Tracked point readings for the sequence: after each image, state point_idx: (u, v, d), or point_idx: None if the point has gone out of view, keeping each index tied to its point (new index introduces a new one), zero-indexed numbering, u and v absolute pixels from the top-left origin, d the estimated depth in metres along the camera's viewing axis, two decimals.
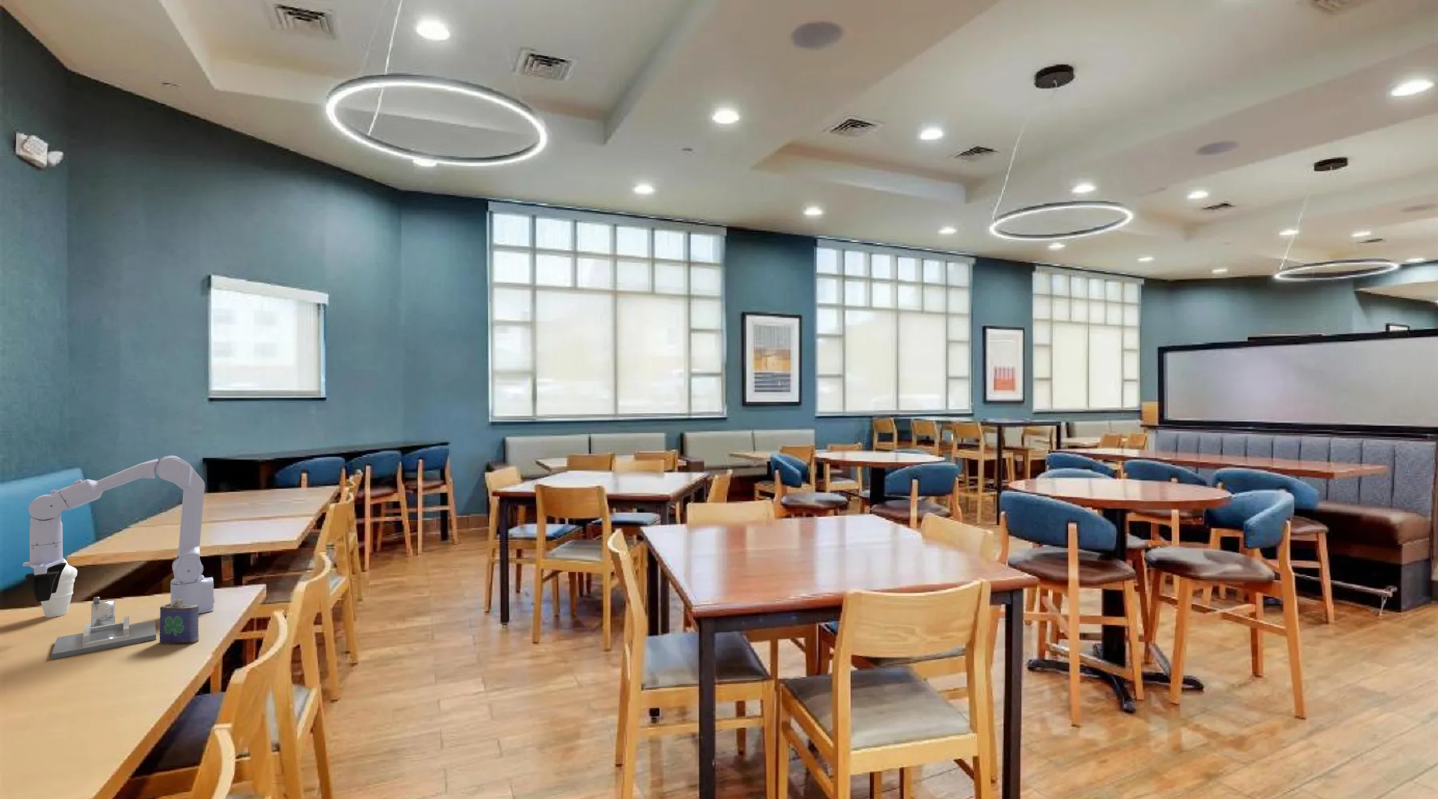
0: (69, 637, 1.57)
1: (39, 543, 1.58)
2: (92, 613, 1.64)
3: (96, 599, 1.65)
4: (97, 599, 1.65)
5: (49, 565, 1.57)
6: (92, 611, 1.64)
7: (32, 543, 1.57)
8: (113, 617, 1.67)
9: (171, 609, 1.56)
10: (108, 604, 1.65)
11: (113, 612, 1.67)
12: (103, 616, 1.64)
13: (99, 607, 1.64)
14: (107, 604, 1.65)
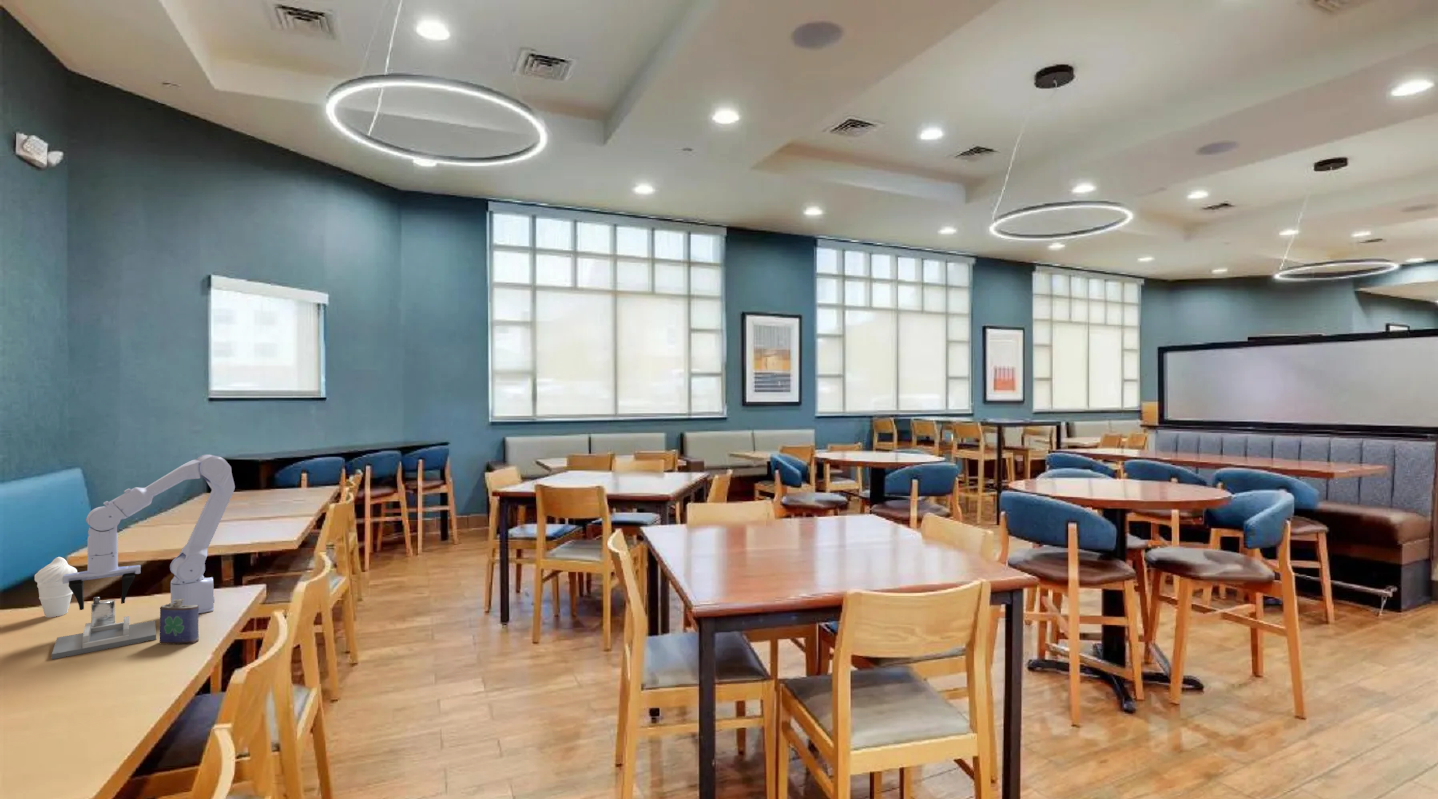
0: (69, 637, 1.57)
1: (98, 553, 1.63)
2: (92, 613, 1.64)
3: (96, 599, 1.65)
4: (97, 599, 1.65)
5: (73, 576, 1.61)
6: (92, 611, 1.64)
7: (91, 553, 1.63)
8: (113, 617, 1.67)
9: (171, 609, 1.56)
10: (108, 604, 1.65)
11: (113, 612, 1.67)
12: (103, 616, 1.64)
13: (99, 607, 1.64)
14: (107, 604, 1.65)
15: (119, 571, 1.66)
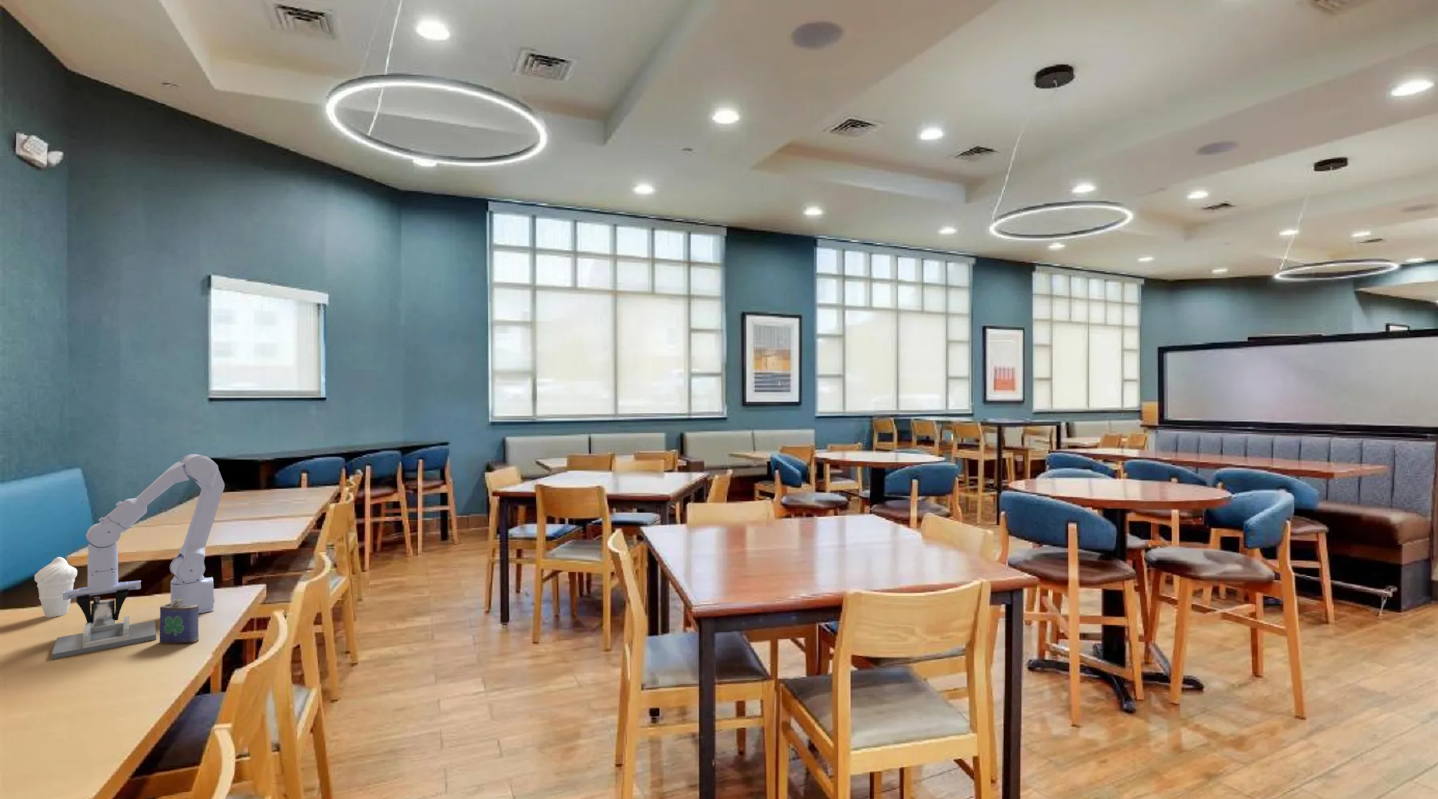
0: (69, 637, 1.57)
1: (98, 570, 1.63)
2: (92, 612, 1.64)
3: (96, 599, 1.65)
4: (97, 599, 1.65)
5: (73, 593, 1.61)
6: (92, 611, 1.64)
7: (91, 570, 1.63)
8: (113, 617, 1.67)
9: (171, 609, 1.56)
10: (108, 604, 1.65)
11: (113, 612, 1.67)
12: (103, 616, 1.64)
13: (99, 607, 1.64)
14: (107, 604, 1.65)
15: (119, 587, 1.66)
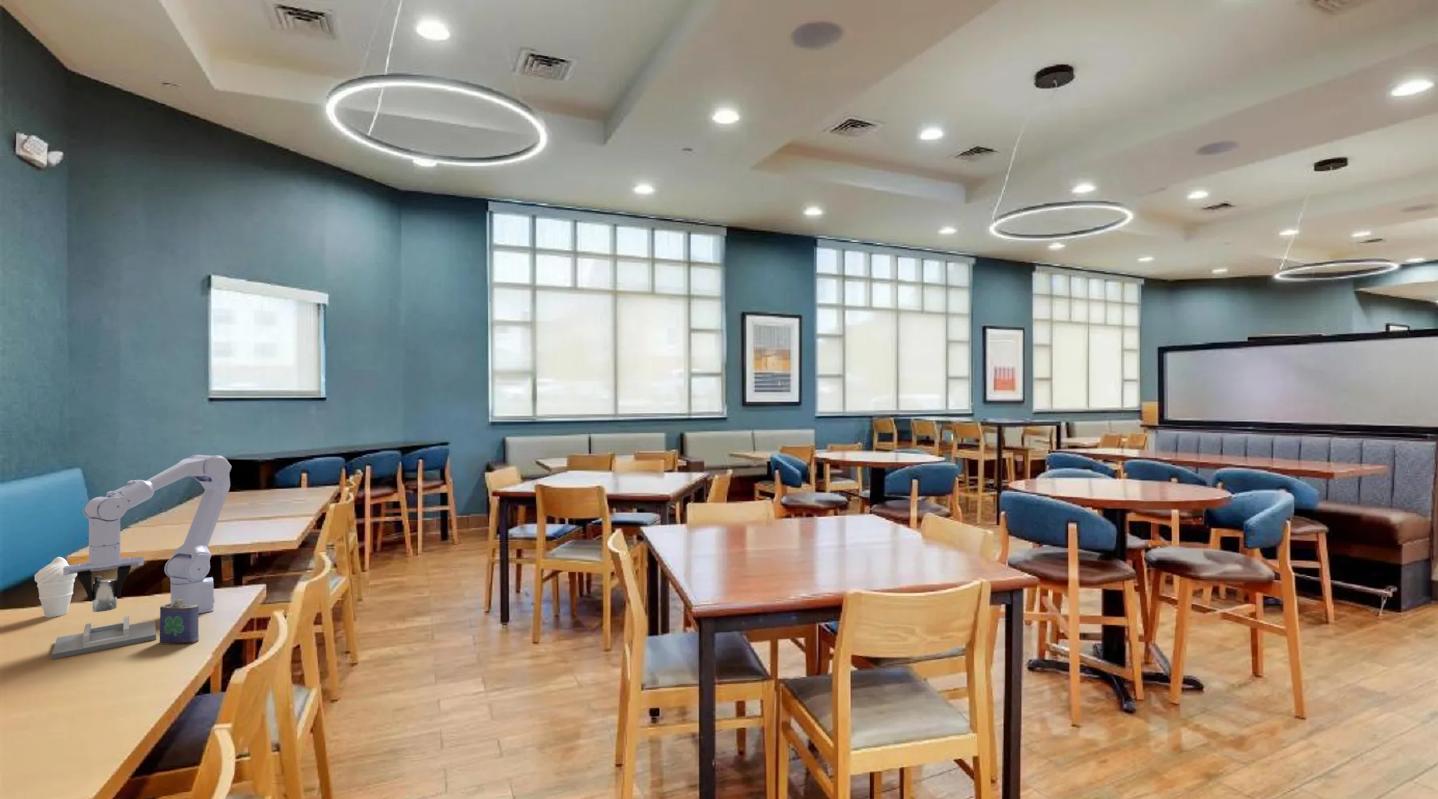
0: (69, 637, 1.57)
1: (106, 544, 1.59)
2: (93, 592, 1.59)
3: (98, 578, 1.60)
4: (99, 578, 1.60)
5: (74, 568, 1.57)
6: (93, 590, 1.59)
7: (98, 544, 1.58)
8: (115, 597, 1.62)
9: (171, 609, 1.56)
10: (110, 583, 1.61)
11: (115, 591, 1.62)
12: (105, 595, 1.60)
13: (101, 586, 1.59)
14: (109, 583, 1.61)
15: (121, 563, 1.62)
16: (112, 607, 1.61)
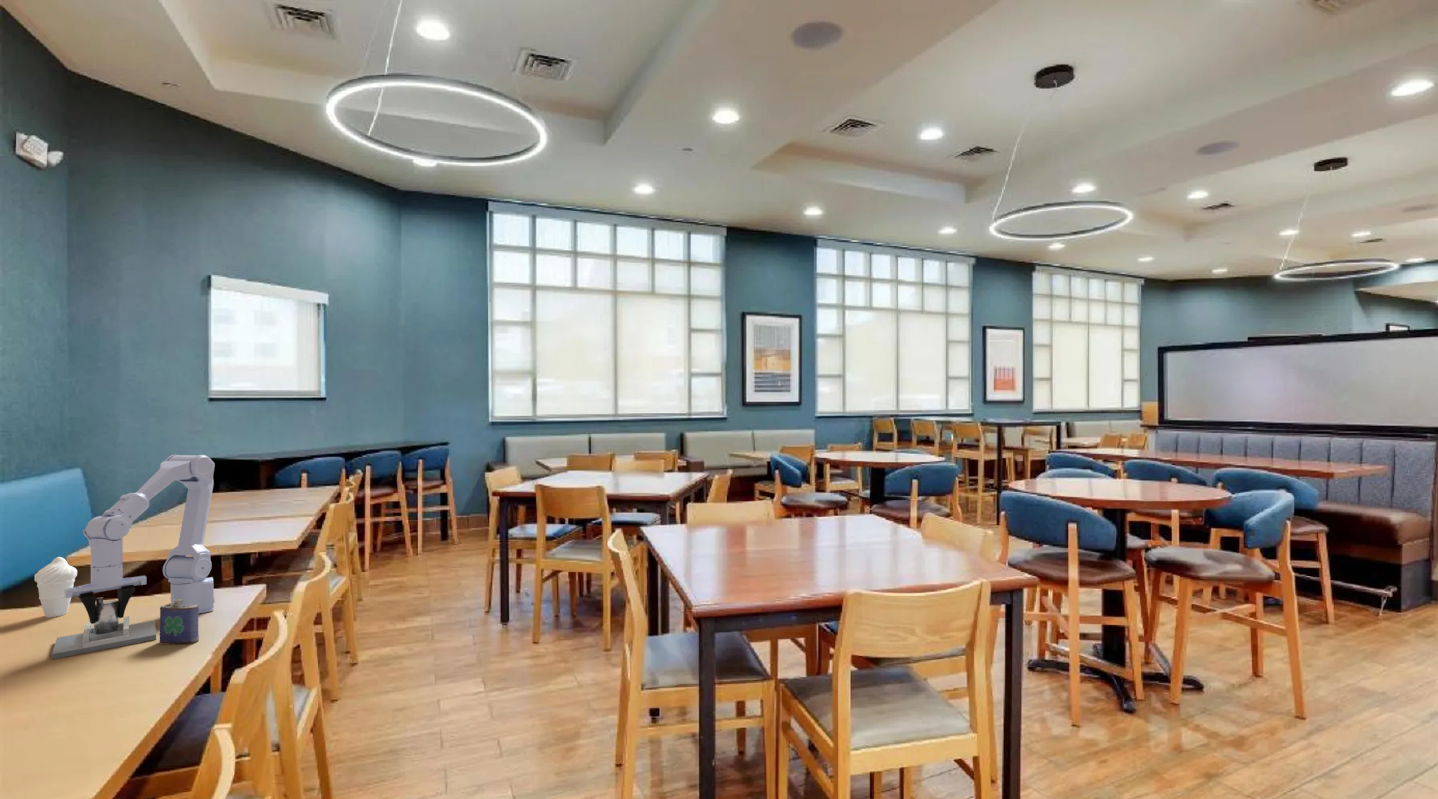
0: (69, 637, 1.57)
1: (112, 564, 1.56)
2: (96, 614, 1.56)
3: (100, 600, 1.57)
4: (101, 600, 1.57)
5: (78, 590, 1.53)
6: (96, 612, 1.56)
7: (103, 565, 1.55)
8: (118, 618, 1.59)
9: (171, 609, 1.56)
10: (114, 604, 1.58)
11: None
12: (109, 617, 1.57)
13: (105, 608, 1.56)
14: (113, 604, 1.58)
15: (126, 582, 1.59)
16: (116, 628, 1.58)
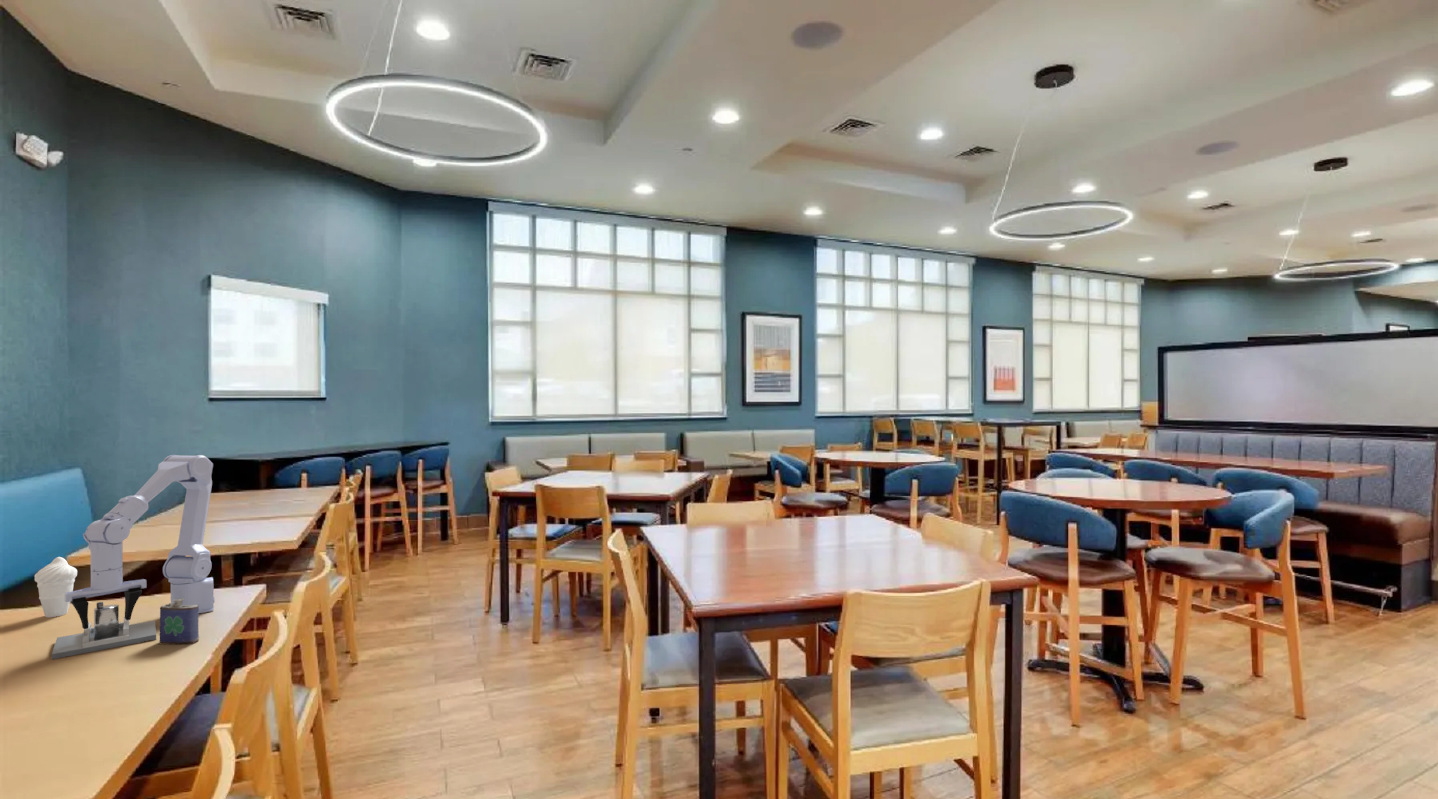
0: (69, 637, 1.57)
1: (112, 567, 1.56)
2: (96, 618, 1.56)
3: (100, 604, 1.57)
4: (101, 604, 1.57)
5: (78, 594, 1.53)
6: (96, 616, 1.56)
7: (103, 568, 1.55)
8: (118, 622, 1.59)
9: (171, 609, 1.56)
10: (114, 609, 1.58)
11: (118, 617, 1.59)
12: (110, 621, 1.57)
13: (105, 613, 1.56)
14: (113, 609, 1.58)
15: (126, 586, 1.59)
16: (116, 633, 1.58)
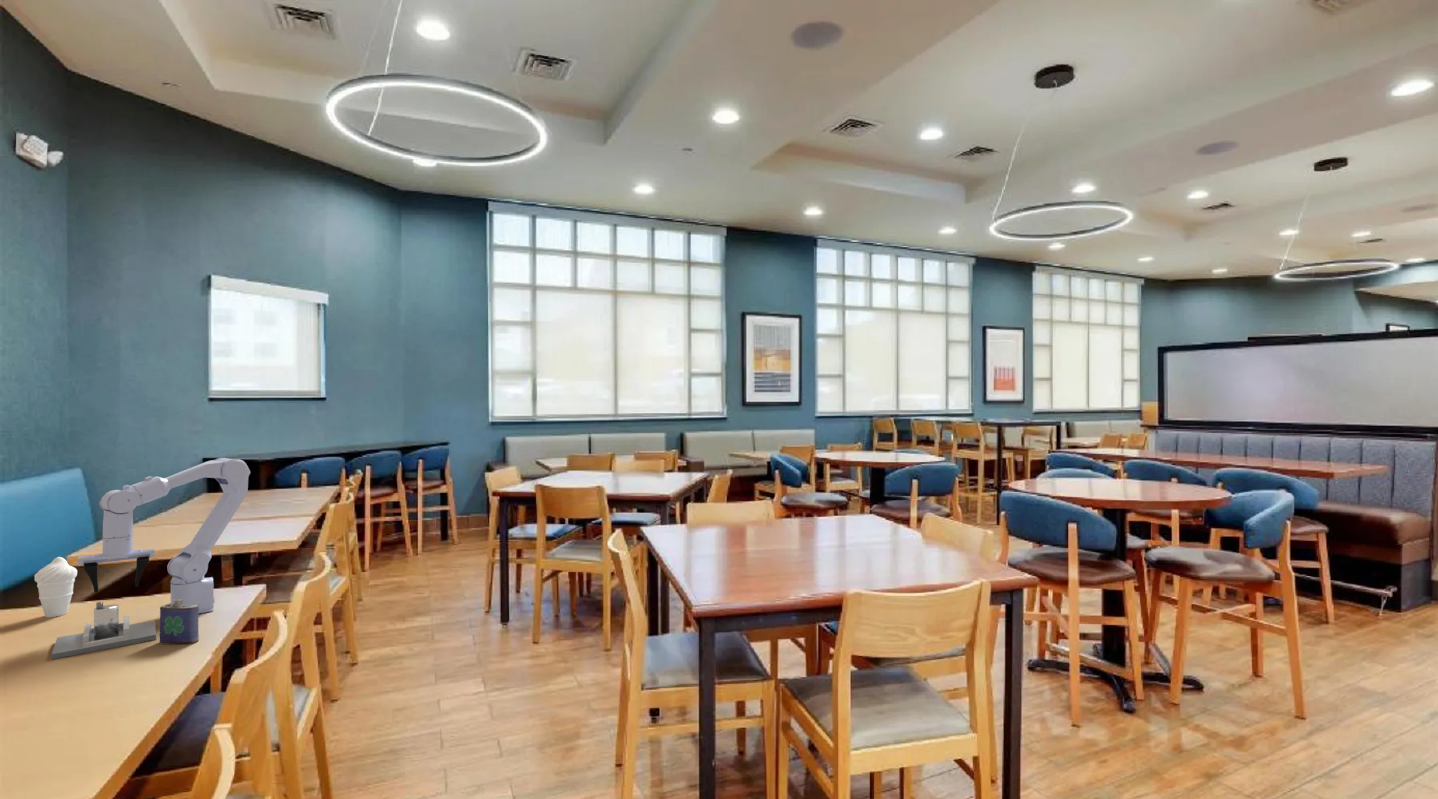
0: (69, 637, 1.57)
1: (116, 536, 1.64)
2: (96, 619, 1.56)
3: (100, 604, 1.57)
4: (101, 604, 1.57)
5: (88, 558, 1.62)
6: (96, 616, 1.56)
7: (108, 536, 1.63)
8: (118, 622, 1.59)
9: (171, 609, 1.56)
10: (114, 609, 1.58)
11: (118, 617, 1.59)
12: (109, 621, 1.57)
13: (105, 613, 1.56)
14: (113, 609, 1.57)
15: (134, 554, 1.67)
16: (116, 633, 1.58)
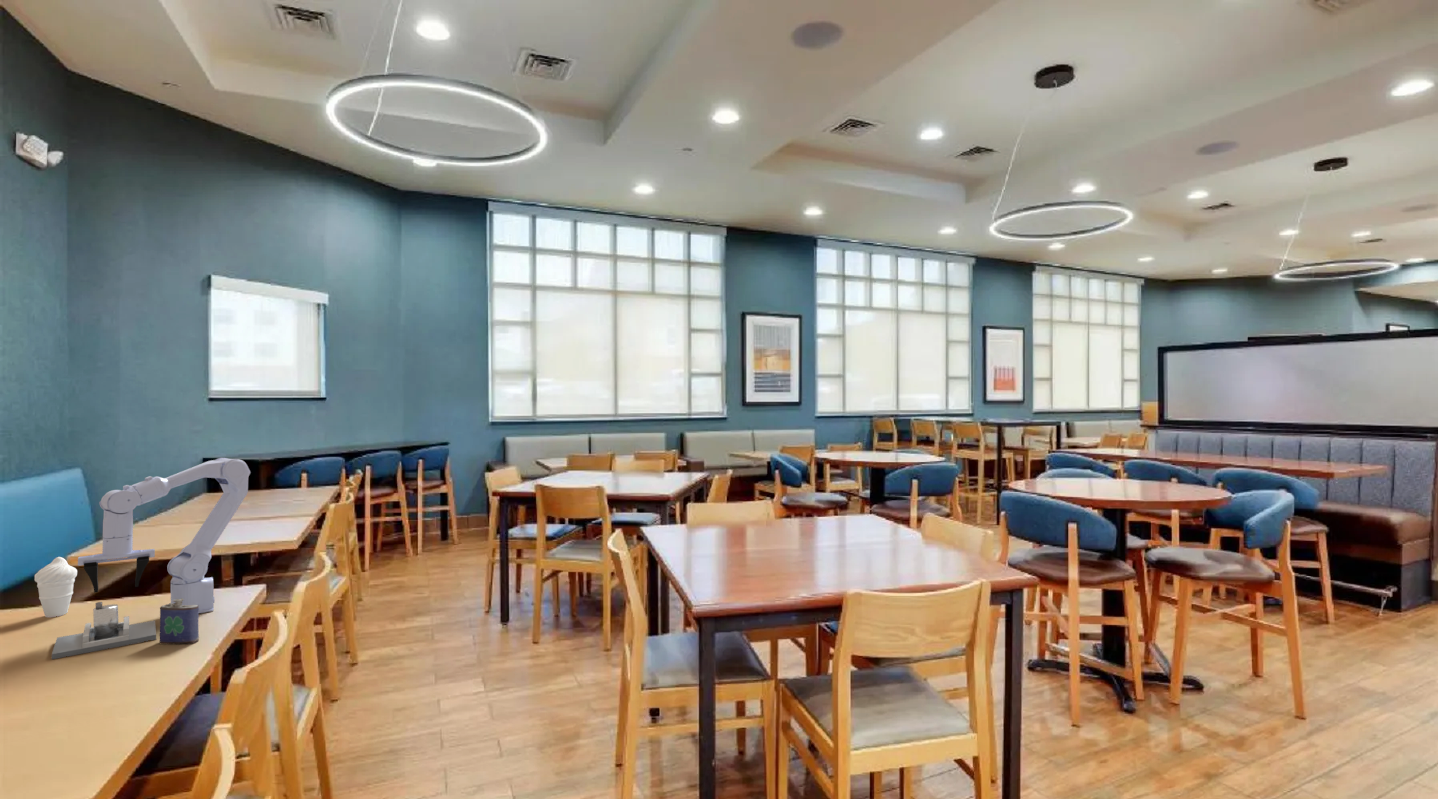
0: (69, 637, 1.57)
1: (116, 536, 1.64)
2: (95, 619, 1.56)
3: (99, 604, 1.56)
4: (100, 604, 1.57)
5: (88, 558, 1.62)
6: (96, 616, 1.56)
7: (108, 536, 1.63)
8: (117, 622, 1.59)
9: (171, 609, 1.56)
10: (113, 608, 1.58)
11: (117, 617, 1.59)
12: (109, 621, 1.57)
13: (104, 613, 1.56)
14: (112, 609, 1.57)
15: (134, 554, 1.67)
16: (116, 633, 1.58)
